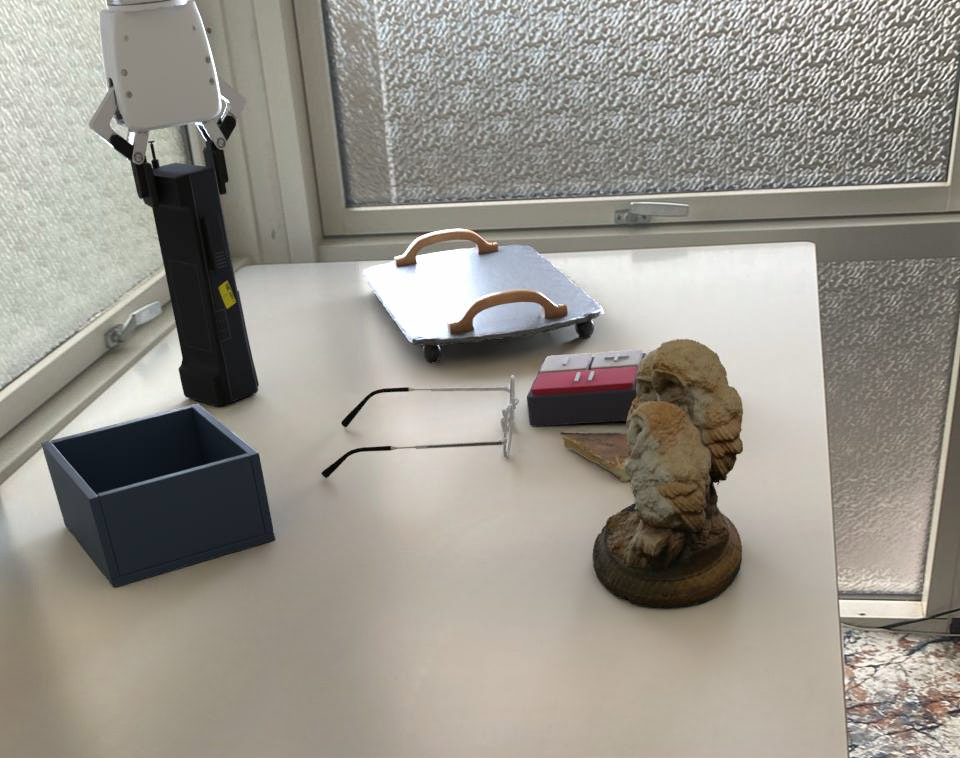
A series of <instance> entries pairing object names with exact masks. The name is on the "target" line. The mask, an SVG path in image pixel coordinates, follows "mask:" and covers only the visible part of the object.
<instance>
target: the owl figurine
mask: <svg viewBox="0 0 960 758" xmlns="http://www.w3.org/2000/svg"><path fill="white" fill-rule="evenodd" d="M652 350H653V351H652V352H649V353H648V354H647V355H646V356H645V357H644V358H643V359H641V361H640V366H639V368H638V370H637V377H636V379H637V384H636V394H637V396H636V398H635V399H634V400H633V402H632V406H631V409H630V410H629V412H628V417H627V420H626V421H625V423H626V428H627V431H626V433H627V446H628V453H629V458H628V459H627V460H626V462H625V465H624V466H625V472H626V474H627V475H629V476H630V480H629V481H630V485H631V487H630V488H631V493H632V495H633V498H634V502H633V503H632V504H630V505H628V506H626V507H625V508H622V509H621V510H620V511H618V512H616V513H615V514H612V515H611V516H609V517H608V518H607V519H606V522H605V523H606V524H605V525H603V527H602V528H601V531H600V532H599V533H598V535H597V536H596V538H595V540H594V543H593V548H592V562H593V564H592V566H593V570H594V572H595V575H596V577H597V578H598V580H599V582H600V584H601V585H603V587H604V588H605V589H606V590H607V591H608V592H609V593H611V594H613V595H614V596H615V597H617V598H619V599H623V600H626V599H627V598H628V601H629V602H630V603H632V604H634V605H637V606H641V607H646V608H650V607H651V608H662V609H669V608H685V607H689V606H692V605H696V604H699V605H700V604H702V603H706V602H708V601H711V600H713V599H714V598H716V597H718V596H719V595H721V594H722V593H723V592H725V591H726V590H727V588H728V587H730V586H731V585H732V583H734V580H735V579H736V577H737V575H738V574H739V572H740V570H741V567H742V560H743V545H742V540H741V539H742V538H741V535H740V533H739V530H738V528H737V527H736V525H735V524H734V523H733V521H732V520H731V519H730V518H728V517H727V516H726V515H725V514H724V513H723V512H722V511H720V508H719V507H718V501H719V495H718V494H717V490H716V487H715V484H716V486H719V484H720V483H721V482H722V481H723V482H724V481H727V479H728V474H729V473H730V472H731V471H732V470H734V467H735V464H736V462H737V458H738V457H737V455H740V454H742V453H743V452H744V447H743V445H744V443H743V440H742V439H741V432H742V430H743V429H742V424H743V415H744V409H743V400H742V398H741V396H740V393H739V392H738V390H737V389H736V388H735V387H734V386H730V385H729V380H728V377H727V376H728V372H727V368H726V367H725V366H724V365H723V363H722V362H721V360H720V356H719V355H718V352H715V351H714V350H712V349H711V348H710V347H709V346H707V345H706V344H703V343H701V342H699V341H696V340H694V339H689V338H676V339H672V340H671V339H670V340H669V341H663V342H662V343H661V344H660V346H659V347H657V348H656V349H652Z"/></svg>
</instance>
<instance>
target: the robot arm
mask: <svg viewBox="0 0 960 758" xmlns="http://www.w3.org/2000/svg"><path fill="white" fill-rule="evenodd" d="M105 4H106V9H101V10H99V11H98V26H99V40H100V49H101V57H102V58H101V59H102V65H103V72H104V77H105V78H104V79H105V85H106V94H105V95H104V97H103V99H102V100H101V102H100V104H99V105H98V107H97V109H96V111H95V112H94V113H93V114H92V117H91V118H90V120H89V123H88V127H89V129H90V131H92V132H93V133H94V134H96V135H97V136H98V137H100V138H101V139H102V140H103V141H104V142H105V143H107V144H108V145H109V146H110V147H111V148H112V149H113V150H115V151H116V152H118V153H119V154H120V155H121V156H123V157H124V158H125V159H126V160H127V161H129V162H130V165H131V170H132V171H131V172H132V175H133V181H134V185H135V190H136V193H137V197H138V198H139V199H140V200H144V201H143V203H144V205H147V206H148V207H150V208H151V209H152V208H156V207H158V205H160V203H159V198H158V194H157V189H156V184H155V179H154V174H153V169H152V168H153V167H152V163H150V162H148V159H147V155H146V153H147V147H148V141H149V135H150V131H157V130H163V129H168V128H169V129H170V128H175V127H180V126H186V125H192V124H195V126H196V127H197V129H198V130H199V132H200V133H201V135H202V137H203V139H204V140H205V142H204V143H205V146H204V147H203V149H202V154H203V158H204V159H203V160H204V162H205V163H204V164H205V165H204V166H206V167H212V168H214V169H215V172H216V176H217V182H218V187H219V193H220V196H223V195H227V186H226V183H229V174H228V168H227V162H226V157H225V156H226V155H225V151H224V150H225V149H226V148H227V144H228V140H229V138H230V137H231V135H232V133H233V132H234V130H235V129H236V127H237V121H238V120H239V119H240V117H241V116H242V114H243V112H244V110H245V108H246V107H247V100H246V98H245V97H244V96H243V95H242V94H240V93H239V92H238V91H237V90H236V89H235V88H233V87H232V86H231V85H229V84H228V82H226V81H225V80H223V79H222V78H221V77H220V76H219V75H217V70H216V65H215V61H214V57H213V53H212V49H211V46H210V43H209V39H208V35H207V32H206V30H205V26H204V24H203V23H204V22H203V20H202V17H201V14H200V12H199V8H198V6H197V3H196V1H195V0H105ZM222 100H224V102H225V105H226V106H225V108H224V111H223V113H222V114H221V112H222V106H223V103H222ZM220 114H221V115H220ZM219 115H220V116H219ZM217 116H219V118H218V119H217V121H216V120H215V118H217ZM112 119H113V121H114V122H115V123H116V124H117V125H119V126H122V127H124V128H125V127H126V128H127V133H126V139H125V138H124V137H123V136H122V135H120V134H119V133H117V132H116V131H115V130H114V129H113V128H112V127H111V121H112Z"/></svg>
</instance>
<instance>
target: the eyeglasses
mask: <svg viewBox="0 0 960 758" xmlns="http://www.w3.org/2000/svg"><path fill="white" fill-rule="evenodd" d="M515 380H516V379H515V375H514V374H511V375H510V384H509V386H467V387H465V386H463V387H431V388H414V387H409V386H404V387H386V388H379V389H376V390H373V391H371V392H369V393H368V394H367V395H366V396H365V397H364V398H363V399H362V400H361V401H360V402H359V403H358V404H357V405H356V406H355V407H354V408H353V409H351V411H350V412H349V413H348V414H347V415H346V416H345V417H344V418H343V419H342V421H341V423H340V424H341V426H342V427H344V428H348V426H349V425H350V424H351V423H352V422H353V420H354V419H355V418H356V416H358V414H359V413H360V411H361V410H362V409H363V407H364V406H365V405H366V404H367V402H368V401H369V400H370V399H371V398H372V397H374V396H376V395H378V394H386V393H410V392H414V391H430V392H507V393H509V402H508V404H507V407H506V408H505V409H502V410H501V414H502V417H501V419H500V426H501V431H502V432H503V437H502V438H500V439H498V440H488V441H486V440H485V441H471V442H468V441H467V442H453V443H437V444H435V443H434V444H419V445H418V444H417V445H415V446H393V445H381V446H380V445H379V446H365V447H364V446H363V447H357V448H354V449H350V450H349V451H346V453H344V454H343V455H341V456H340V457H339V458H338V459H337V460H336V461H334V462H333V463H332V464H330V465H329V466H327V468H325V469H324V470H322V472H321V473H320V475H321V476H322V477H324V478H325V479H327V478H329V477H330V476H331V475H332V474H333V473H334V472H335V471H337V469H338V468H339V467H340V466H341V465H342V464H343V463H344V462H345V461H346V459H347V458H349V457H350V456H352V455H354V454H357V453H365V452H387V451H388V452H389V451H396V450H402V449H404V450H405V449H416V450H422V449H424V450H425V449H447V448H449V449H450V448H467V447H468V448H469V447H491V446H492V447H493V446H494V447H495V446H502V447H503V448H502V449H503V450H502V451H503V457H504V458H505V459H509V458H510V453H511V449H512V441H513V431H514V430H513V429H514V423H515V416H516V413H515V410H516V409H517V408H516V407H517V405H518V404H519V403H520V399H519V398H518V397H516V388H515V387H516V383H515V382H516V381H515ZM508 433H509V434H508Z"/></svg>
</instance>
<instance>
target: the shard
mask: <svg viewBox="0 0 960 758" xmlns="http://www.w3.org/2000/svg"><path fill="white" fill-rule="evenodd" d="M559 435H560V436H561V438H562V439H563V446H564V448H565V449H570V450H571V451H572V452H573V453H576V454H579V455H581V456H582V457H584V458H585V459H587V460H588V461H590V462H591V463H594V464H596V465H598V466H600V467H601V468H602V469H604V470H606V471H608V472H610V473H612V474H614V475H615V476H616V477H618V478H619V479H620V481H621V482H623V483H627V482H629V481H631V480H630V476H629V475H627V474H626V472H625V466H624V465H625V462H626V460H627V459H628V458H629V453H628V446H627V432H626V433H625V432H565V431H564V432H563V431H561V432H559Z"/></svg>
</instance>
